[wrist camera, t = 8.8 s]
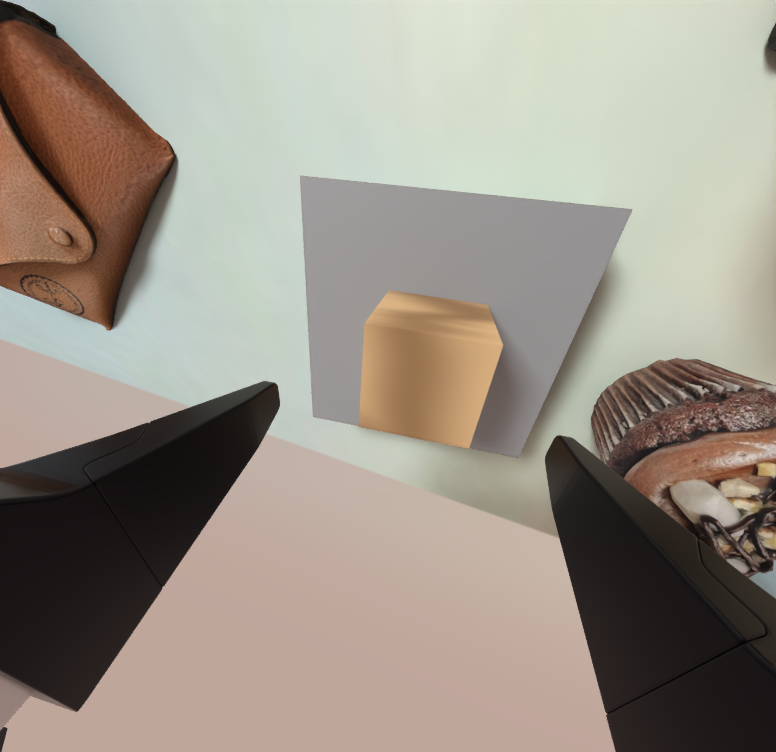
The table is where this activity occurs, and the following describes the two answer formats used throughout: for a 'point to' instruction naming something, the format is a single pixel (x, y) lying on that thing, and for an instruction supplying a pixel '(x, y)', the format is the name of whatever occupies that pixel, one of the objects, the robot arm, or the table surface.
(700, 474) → the cupcake
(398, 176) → the table surface
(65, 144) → the sunglasses case
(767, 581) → the bottle
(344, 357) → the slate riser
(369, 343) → the oak cube
